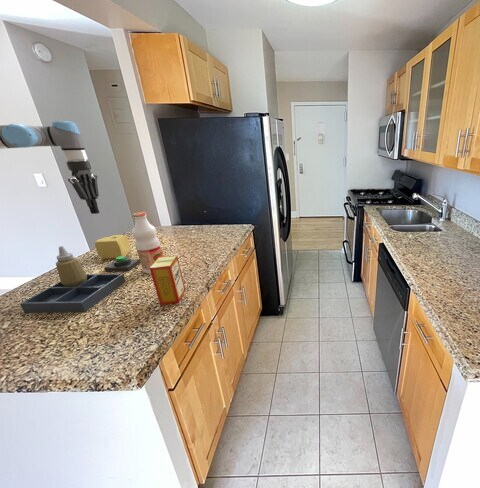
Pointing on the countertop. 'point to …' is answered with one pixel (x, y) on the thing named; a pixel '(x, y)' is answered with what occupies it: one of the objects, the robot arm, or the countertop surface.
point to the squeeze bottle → (69, 269)
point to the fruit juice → (146, 241)
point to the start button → (120, 258)
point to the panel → (122, 265)
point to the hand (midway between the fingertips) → (95, 213)
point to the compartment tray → (74, 295)
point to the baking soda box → (168, 279)
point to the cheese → (112, 246)
